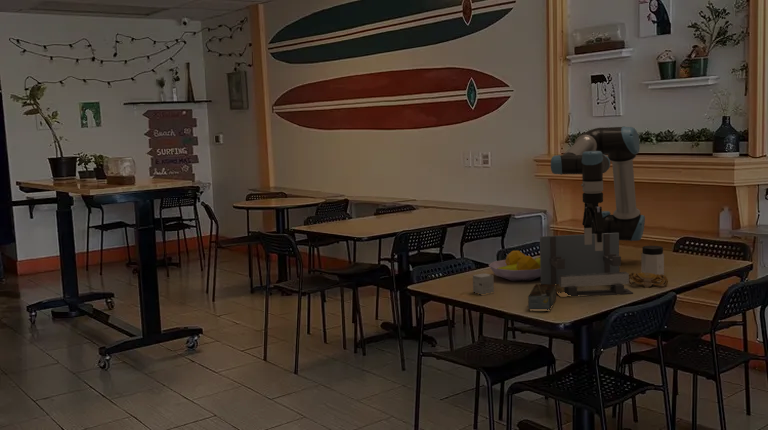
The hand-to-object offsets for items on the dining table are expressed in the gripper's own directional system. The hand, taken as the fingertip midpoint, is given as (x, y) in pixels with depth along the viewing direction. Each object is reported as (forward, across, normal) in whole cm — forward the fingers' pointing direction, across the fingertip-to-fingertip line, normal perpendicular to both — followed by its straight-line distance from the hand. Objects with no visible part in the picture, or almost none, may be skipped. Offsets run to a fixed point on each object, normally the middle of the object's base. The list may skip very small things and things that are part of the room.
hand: (593, 247), depth 293 cm
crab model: (+18, -10, +24) cm, 32 cm away
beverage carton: (+18, +14, -23) cm, 33 cm away
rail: (+14, 0, 0) cm, 14 cm away
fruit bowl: (+18, -35, -20) cm, 44 cm away
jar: (+18, -27, +33) cm, 46 cm away
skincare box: (+18, -10, -41) cm, 46 cm away
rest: (+18, 0, 0) cm, 18 cm away
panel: (+18, -12, 0) cm, 22 cm away
